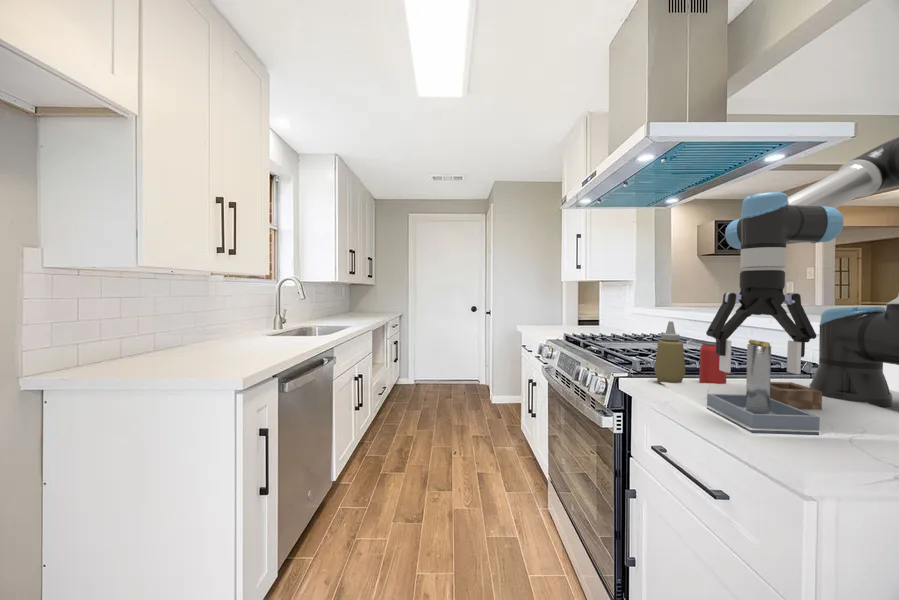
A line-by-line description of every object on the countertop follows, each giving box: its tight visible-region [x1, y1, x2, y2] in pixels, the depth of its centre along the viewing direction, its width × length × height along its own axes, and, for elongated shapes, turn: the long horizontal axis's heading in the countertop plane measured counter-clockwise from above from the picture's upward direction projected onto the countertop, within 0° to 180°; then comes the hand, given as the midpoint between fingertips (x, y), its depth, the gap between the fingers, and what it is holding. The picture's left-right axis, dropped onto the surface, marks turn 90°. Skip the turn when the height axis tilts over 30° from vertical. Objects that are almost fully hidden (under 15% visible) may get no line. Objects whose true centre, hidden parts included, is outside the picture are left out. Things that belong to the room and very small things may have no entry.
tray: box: [706, 393, 821, 436], centre depth 87 cm, size 12×16×4 cm
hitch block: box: [770, 381, 823, 411], centre depth 97 cm, size 9×9×5 cm
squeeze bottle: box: [653, 321, 686, 384], centre depth 121 cm, size 8×8×18 cm
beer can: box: [698, 341, 728, 385], centre depth 120 cm, size 7×7×12 cm
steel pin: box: [745, 339, 772, 414], centre depth 87 cm, size 4×6×16 cm
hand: (758, 372), depth 87 cm, fingers open, 13 cm apart
